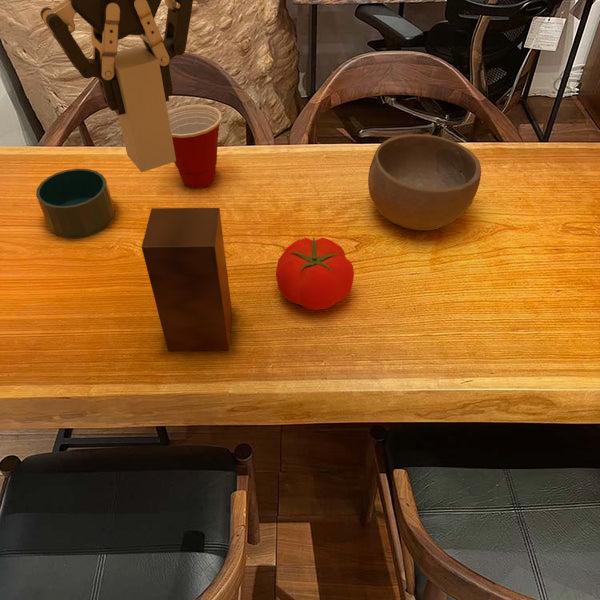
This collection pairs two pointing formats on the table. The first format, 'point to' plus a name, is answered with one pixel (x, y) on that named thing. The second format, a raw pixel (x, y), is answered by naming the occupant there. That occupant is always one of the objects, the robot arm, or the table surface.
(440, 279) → the table surface
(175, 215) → the pedestal
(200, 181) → the plastic cup
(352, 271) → the tomato
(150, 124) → the block
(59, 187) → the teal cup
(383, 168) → the bowl
